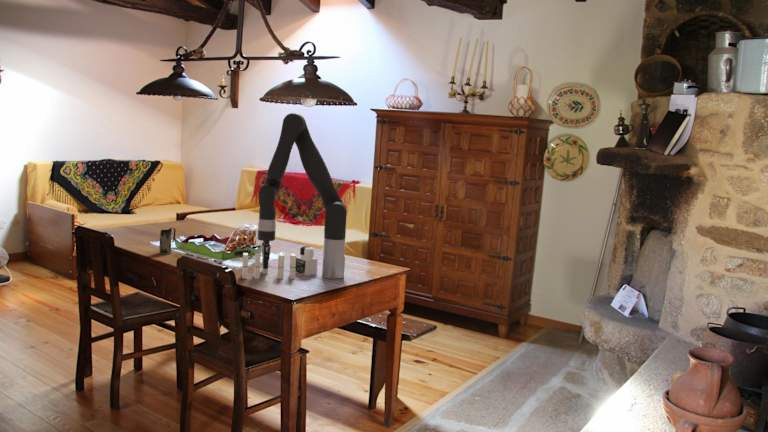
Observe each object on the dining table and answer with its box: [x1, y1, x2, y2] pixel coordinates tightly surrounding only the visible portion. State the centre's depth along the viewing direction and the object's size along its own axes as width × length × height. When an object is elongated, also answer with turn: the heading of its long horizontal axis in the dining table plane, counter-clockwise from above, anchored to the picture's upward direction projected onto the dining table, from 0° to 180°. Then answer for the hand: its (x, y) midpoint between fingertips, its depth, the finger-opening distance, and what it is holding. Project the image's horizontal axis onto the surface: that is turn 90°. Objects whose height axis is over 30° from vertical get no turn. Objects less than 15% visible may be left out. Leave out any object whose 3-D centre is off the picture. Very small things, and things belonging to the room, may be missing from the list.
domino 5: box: [288, 253, 297, 280], centre depth 277 cm, size 2×5×10 cm, turn 14°
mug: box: [159, 227, 176, 255], centre depth 309 cm, size 8×6×12 cm
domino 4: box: [277, 252, 285, 280], centre depth 275 cm, size 2×5×10 cm, turn 14°
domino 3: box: [261, 255, 269, 275], centre depth 282 cm, size 2×5×10 cm, turn 14°
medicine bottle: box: [295, 246, 319, 276], centre depth 286 cm, size 7×7×12 cm
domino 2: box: [253, 252, 261, 280], centre depth 273 cm, size 2×5×10 cm, turn 14°
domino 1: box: [241, 252, 249, 279], centre depth 272 cm, size 2×5×10 cm, turn 14°
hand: (265, 267), depth 283 cm, fingers closed on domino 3, 5 cm apart
